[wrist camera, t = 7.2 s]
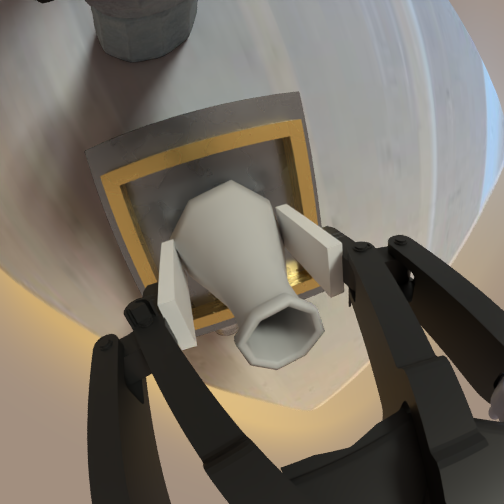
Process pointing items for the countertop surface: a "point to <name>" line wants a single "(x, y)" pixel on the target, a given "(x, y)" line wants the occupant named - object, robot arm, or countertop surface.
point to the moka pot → (141, 26)
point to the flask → (247, 273)
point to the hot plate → (205, 183)
